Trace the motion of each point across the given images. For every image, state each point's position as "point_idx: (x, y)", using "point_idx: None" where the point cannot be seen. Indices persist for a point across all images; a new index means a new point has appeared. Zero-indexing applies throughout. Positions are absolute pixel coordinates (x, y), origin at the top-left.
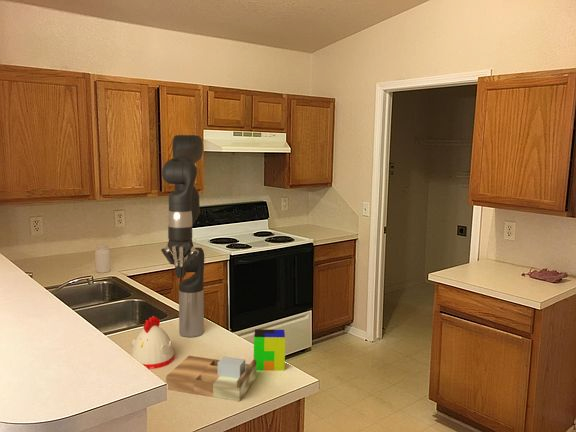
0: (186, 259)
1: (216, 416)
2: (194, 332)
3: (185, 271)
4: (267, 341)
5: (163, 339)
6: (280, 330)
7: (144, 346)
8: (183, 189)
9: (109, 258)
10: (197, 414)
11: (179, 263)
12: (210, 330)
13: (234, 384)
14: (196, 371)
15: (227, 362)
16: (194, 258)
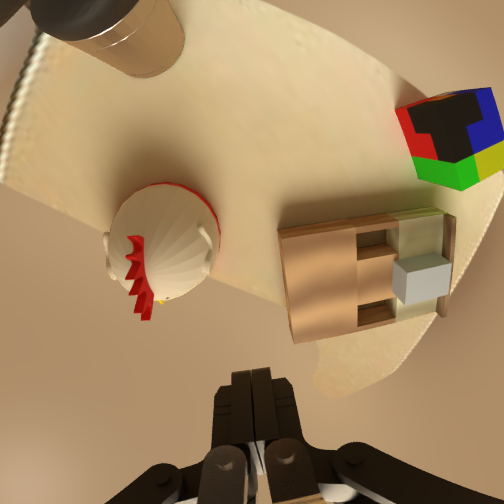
0: (319, 494)
1: (405, 346)
2: (171, 59)
3: (296, 406)
4: (484, 178)
5: (196, 261)
6: (486, 95)
7: (169, 299)
8: None
9: None
10: (378, 356)
11: (254, 488)
12: (190, 5)
13: (429, 304)
14: (344, 299)
15: (423, 294)
16: (433, 486)
